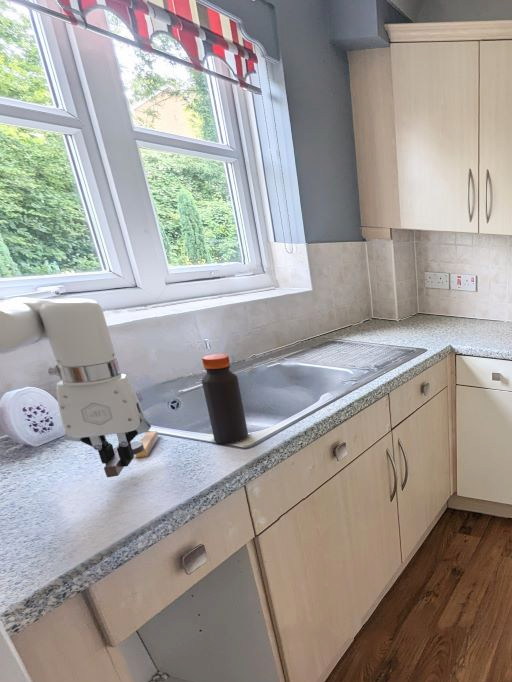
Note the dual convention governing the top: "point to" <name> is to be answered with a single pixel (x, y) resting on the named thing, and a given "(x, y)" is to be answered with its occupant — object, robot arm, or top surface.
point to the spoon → (115, 462)
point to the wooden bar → (148, 443)
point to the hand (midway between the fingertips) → (119, 463)
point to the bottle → (223, 400)
